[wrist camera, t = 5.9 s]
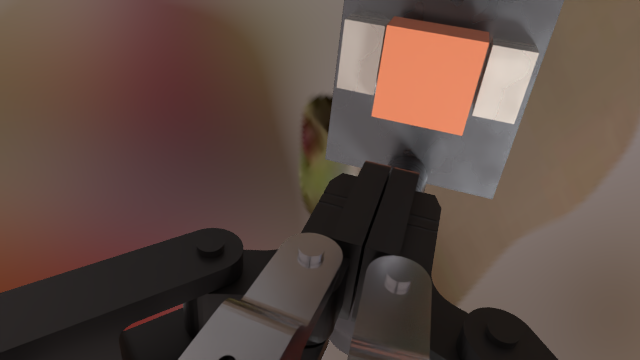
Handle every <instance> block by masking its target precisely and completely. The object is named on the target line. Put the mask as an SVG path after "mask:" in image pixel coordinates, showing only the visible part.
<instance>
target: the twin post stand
mask: <svg viewBox="0 0 640 360" xmlns="http://www.w3.org/2000/svg"><path fill="white" fill-rule="evenodd" d="M563 2H564V0H344V7H343V15H342V23H341V32H340V40H339V49H338V57H337V65H336V75H335V83H334V91H333V99H332V107H331V116H330V124H329V133H328V141H327V149H326V158H325V159H327V160H331V161H335V162H339V163H343V164H347V165H352V166H356V167H360V168H362V166H363V164H364V162H365V161H371V162H375V163H379V164H383V165H387V166H391V167H392V168H391V172H392V170H393V167H396V168H401V169H405V170H409V171H413V172H417V173H420V174H419V178H418V182H417V186H416V190H415V191H418V192H422V193H424V191H425V186H426V183H427V184H431V185H435V186H439V187H443V188H448V189H452V190H456V191H460V192H464V193H468V194H473V195H477V196H481V197H485V198H489V199H493V196H494V194H495V191H496V188H497V185H498V182H499V180H500V177H501V174H502V171H503V169H504V166H505V163H506V160H507V157H508V155H509V152H510V149H511V146H512V144H513V141H514V138H515V135H516V132H517V130H518V127H519V124H520V121H521V119H522V116H523V113H524V110H525V107H526V105H527V102H528V99H529V96H530V94H531V91H532V88H533V85H534V82H535V80H536V77H537V74H538V71H539V69H540V66H541V63H542V60H543V57H544V55H545V52H546V49H547V46H548V44H549V41H550V38H551V35H552V32H553V30H554V27H555V24H556V21H557V19H558V16H559V13H560V10H561V7H562V5H563ZM394 16H397V17H403V18H409V19H414V20H420V21H426V22H432V23H438V24H444V25H450V26H456V27H462V28H468V29H474V30H480V31H485V32H489V46H488V49H487V52H486V56H485V59H484V63H483V66H482V70H481V73H480V76H479V80H478V83H477V87H476V90H475V94H474V97H473V100H472V104H471V107H470V111H469V114H468V118H467V121H466V124H465V128H464V131H463V135H462V136H460V135H455V134H451V133H446V132H441V131H437V130H432V129H428V128H423V127H418V126H414V125H409V124H404V123H400V122H395V121H390V120H386V119H381V118H377V117H372V110H373V104H374V98H375V92H376V86H377V81H378V75H379V69H380V63H381V57H382V51H383V45H384V40H385V34H386V28H387V24H388V23H389V22H390V21H391V20H392V18H393V17H394ZM390 175H391V174H390ZM354 302H355V301H354ZM353 307H354V304H353ZM353 307H352V310H351V313H350V316H349V319H348V320H345V319H342V318H339V317H338V319H337V322H336V325H335V328H334V330H333V332H332V334H331V335H330V340H331V342H332V343H333V344H334V345H335V346H336V347H337V348H338V349H339V350H341V351H342V352H344V353H345V354H347V355H348V354H349V350H350V345H351V341H352V337H353V332H354V327H355V322H352V321H351V317H352V312H353Z"/></svg>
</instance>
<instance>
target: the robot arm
mask: <svg viewBox="0 0 640 360" xmlns="http://www.w3.org/2000/svg"><path fill="white" fill-rule="evenodd" d="M391 168H392V167H391V166H387V165H383V164H379V163H375V162H371V161H365V162H364V164H363V166H362V169H361V171H360V173H359V175H358V177H357V176H353V175H348V174H344V173H342V174H341V175H339V176H337V177H336V178H334V179H332V180H331V181H330V182H329V184H328V186H327V187H326V189H325V191H324V194H323V195H322V196H321V198H320V200H319V203H318V204H317V205H316V207H315V209H314V211H313V212H312V214H311V216H310V218H309V220H308V222H307V223H306V225H305V227H304V229H303V230H302V232H301V233H300V234H296V235H293V236H291V237H289V238H288V239H286V240H285V241H284V242H283V243H282V245H281V246H280V248H279V249H277V250H268V251H262V250H261V251H260V250H243V244H242V241H241V240H240V238H239V237H238V236H237V235H235V234H234V233H232V232H230V231H227V230H225V229H219V228H207V229H201V230H198V231H195V232H192V233H188V234H185V235H182V236H179V237H176V238H172V239H170V240H166V241H163V242H160V243H157V244H153V245H150V246H147V247H144V248H141V249H138V250H135V251H131V252H128V253H125V254H122V255H119V256H116V257H113V258H110V259H106V260H103V261H100V262H97V263H94V264H90V265H87V266H85V267H81V268H78V269H75V270H72V271H68V272H65V273H62V274H59V275H56V276H53V277H50V278H47V279H43V280H40V281H37V282H34V283H31V284H28V285H24V286H21V287H18V288H15V289H12V290H9V291H5V292H2V293H0V360H322V357H323V355H324V353H325V351H326V349H327V347H328V344H329V340H330V335H331V334H332V332H333V330H334V328H335V325H336V322H337V319H338V317H339V318H342V319H345V320H348V319H349V316H350V313H351V310H352V307H353V304H354V307H353V312H352V317H351V321H352V322H355V327H354V332H353V337H352V341H351V345H350V350H349V354H348V359H347V360H558V359H557V358H556V357H555V356H554V354H553V353H552V352H551V351H550V350H549V349H548V348H547V347H546V345H545V344H544V343H543V342H542V341H541V340H540V339H539V338H538V336H537V335H536V334H535V333H534V332H533V331H532V330H531V329H530V328H529V326H528V325H527V324H526V323H524V322H523V321H522V320H521V319H519V318H518V317H516V316H515V315H513V314H511V313H509V312H506V311H504V310H501V309H496V308H490V307H487V308H479V309H476V310H473V311H472V312H470V313H469V314H468V313H467V312H465V311H463V310H461V309H459V308H458V307H456V306H454V305H453V304H451V303H450V302H448V301H447V300H446V299H444V298H443V297H442V296H441V295H440V293H439V292H438V291H437V290H436V288H435V286H434V284H433V282H432V277H431V271H432V265H433V258H434V252H435V245H436V239H437V232H438V226H439V220H440V213H441V207H440V205H439V203H438V201H437V199H436V197H435V195H431V194H427V193H422V192H418V191H415V190H416V186H417V182H418V178H419V174H420V173H417V172H413V171H409V170H405V169H401V168H396V167H393V170H392V172H391ZM390 174H391V175H390ZM354 301H355V302H354ZM180 304H183V308H181V309H178V310H176V311H173V312H171V313H169V314H166V315H163V316H161V317H158V318H156V319H153V320H151V321H148V322H146V323H143V324H141V325H138V326H136V327H133V328H131V329H128V330H126V331H123V330H124V329H125V328H126V327H128V326H129V325H131V324H132V323H135V322H137V321H140V320H142V319H145V318H147V317H149V316H152V315H155V314H157V313H160V312H162V311H165V310H167V309H170V308H172V307H175V306H177V305H180Z"/></svg>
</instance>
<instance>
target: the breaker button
mask: <svg viewBox="0 0 640 360" xmlns="http://www.w3.org/2000/svg"><path fill="white" fill-rule="evenodd" d="M488 46H489V32H485V31H480V30H474V29H468V28H462V27H456V26H450V25H444V24H438V23H432V22H426V21H420V20H414V19H409V18H403V17H397V16H394V17H393V18H392V20H391V21H390V22H389V23H388V24H387V28H386V34H385V40H384V45H383V51H382V57H381V63H380V69H379V75H378V81H377V86H376V92H375V98H374V104H373V110H372V117H377V118H381V119H386V120H390V121H395V122H400V123H404V124H409V125H414V126H418V127H423V128H428V129H432V130H437V131H441V132H446V133H451V134H455V135H460V136H462V135H463V131H464V128H465V124H466V121H467V118H468V114H469V111H470V107H471V104H472V100H473V97H474V94H475V90H476V87H477V83H478V80H479V76H480V73H481V70H482V66H483V63H484V59H485V56H486V52H487V49H488Z"/></svg>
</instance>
